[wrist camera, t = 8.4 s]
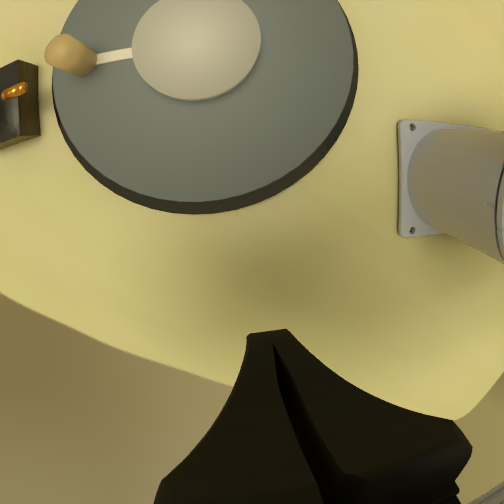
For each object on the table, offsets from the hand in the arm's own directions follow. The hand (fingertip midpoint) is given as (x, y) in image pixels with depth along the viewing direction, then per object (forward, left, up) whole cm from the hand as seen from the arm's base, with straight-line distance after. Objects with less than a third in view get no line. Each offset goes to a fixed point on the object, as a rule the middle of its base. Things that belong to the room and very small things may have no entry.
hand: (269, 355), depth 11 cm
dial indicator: (+15, -12, -10) cm, 22 cm away
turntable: (+2, -12, -9) cm, 15 cm away
